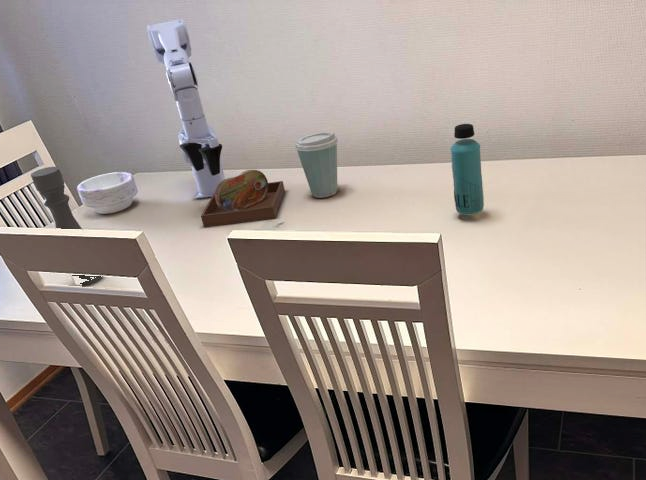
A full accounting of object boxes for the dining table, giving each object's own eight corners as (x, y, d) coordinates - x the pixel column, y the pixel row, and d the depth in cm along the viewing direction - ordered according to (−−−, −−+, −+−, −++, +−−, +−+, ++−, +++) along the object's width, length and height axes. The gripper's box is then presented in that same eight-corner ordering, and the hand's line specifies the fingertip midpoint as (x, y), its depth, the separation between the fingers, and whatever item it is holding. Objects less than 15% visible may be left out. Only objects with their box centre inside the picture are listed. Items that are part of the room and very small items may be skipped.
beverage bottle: (487, 209, 158) (482, 119, 147) (481, 221, 153) (476, 129, 142) (458, 209, 161) (452, 121, 150) (452, 221, 156) (444, 131, 145)
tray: (219, 200, 190) (216, 189, 188) (285, 191, 188) (282, 180, 186) (203, 227, 175) (200, 215, 173) (275, 218, 173) (272, 206, 171)
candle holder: (78, 275, 160) (34, 169, 147) (105, 271, 160) (63, 164, 147) (71, 288, 155) (25, 178, 142) (99, 283, 155) (55, 173, 142)
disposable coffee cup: (298, 201, 180) (286, 142, 172) (316, 185, 188) (305, 129, 180) (335, 201, 176) (325, 141, 168) (352, 185, 184) (342, 127, 176)
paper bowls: (152, 197, 199) (143, 170, 195) (116, 219, 188) (106, 191, 184) (112, 196, 206) (102, 170, 201) (75, 217, 195) (64, 190, 190)
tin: (224, 218, 176) (215, 185, 172) (217, 215, 178) (208, 183, 174) (272, 197, 184) (265, 165, 179) (265, 195, 186) (257, 164, 182)
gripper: (163, 119, 172) (179, 173, 180) (194, 125, 163) (209, 181, 170) (188, 111, 176) (203, 164, 183) (219, 116, 166) (233, 172, 174)
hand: (207, 172), depth 177 cm, fingers open, 7 cm apart
